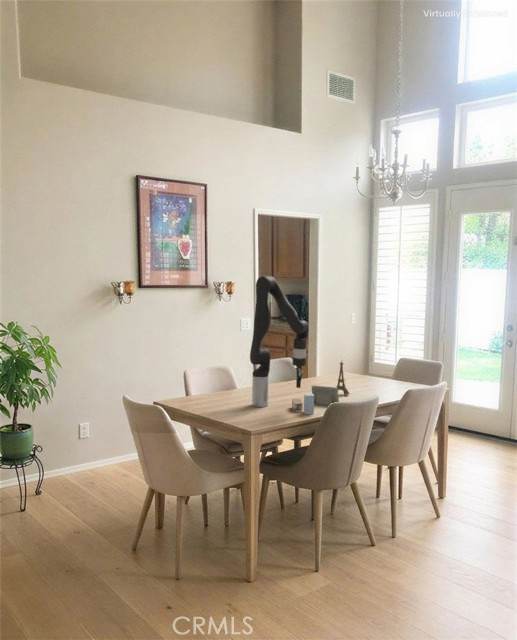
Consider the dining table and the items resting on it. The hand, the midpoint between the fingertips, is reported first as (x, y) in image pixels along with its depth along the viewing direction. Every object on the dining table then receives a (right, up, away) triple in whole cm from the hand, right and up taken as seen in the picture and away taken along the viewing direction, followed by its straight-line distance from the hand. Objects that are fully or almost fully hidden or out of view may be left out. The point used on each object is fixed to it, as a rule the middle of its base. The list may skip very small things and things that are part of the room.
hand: (298, 387), depth 307 cm
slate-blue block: (+6, -14, -2) cm, 15 cm away
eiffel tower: (+31, -11, +50) cm, 60 cm away
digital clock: (+17, -13, +23) cm, 31 cm away
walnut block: (0, -11, +1) cm, 11 cm away
